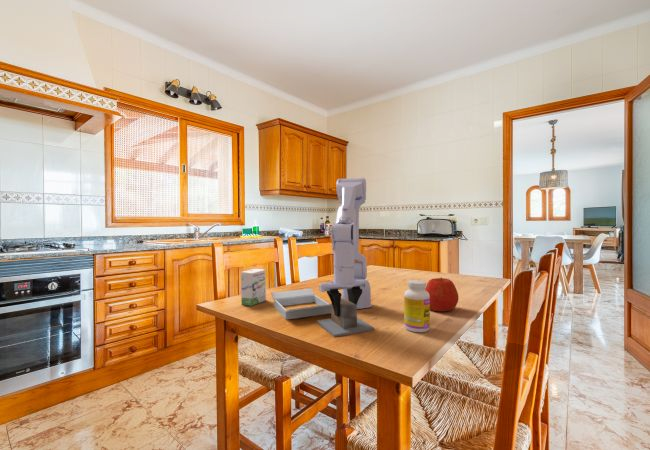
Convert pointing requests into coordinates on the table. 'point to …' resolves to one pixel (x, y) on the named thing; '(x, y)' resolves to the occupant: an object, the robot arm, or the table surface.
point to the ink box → (253, 286)
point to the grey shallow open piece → (300, 298)
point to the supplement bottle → (417, 307)
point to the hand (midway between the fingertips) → (344, 314)
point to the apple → (442, 294)
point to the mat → (339, 331)
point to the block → (346, 314)
